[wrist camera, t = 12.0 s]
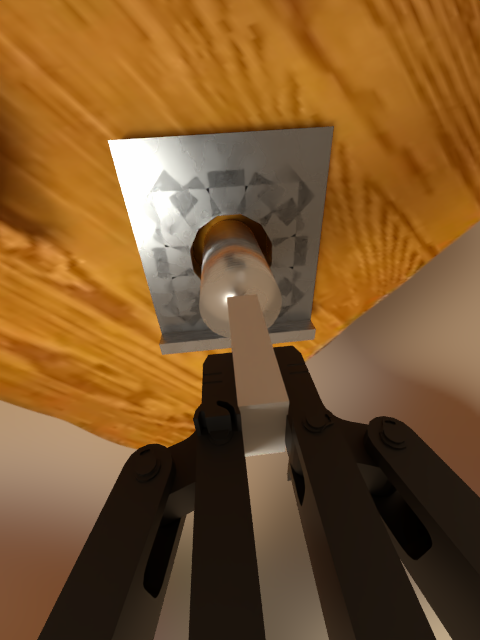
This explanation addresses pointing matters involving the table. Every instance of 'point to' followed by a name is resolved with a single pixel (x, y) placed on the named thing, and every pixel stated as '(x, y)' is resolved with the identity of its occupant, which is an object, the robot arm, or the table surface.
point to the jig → (225, 199)
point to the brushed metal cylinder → (234, 275)
